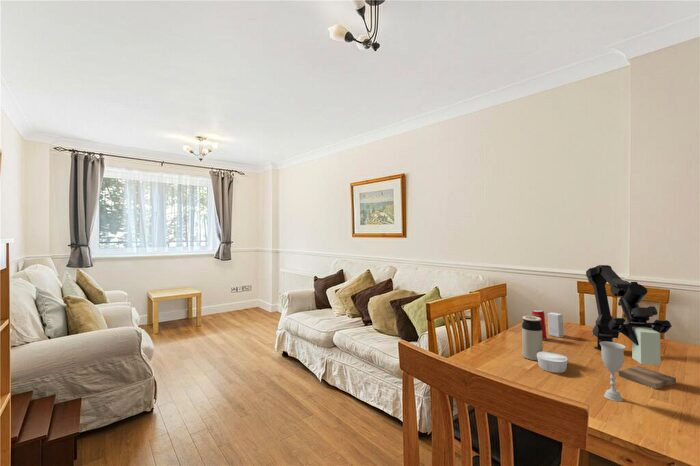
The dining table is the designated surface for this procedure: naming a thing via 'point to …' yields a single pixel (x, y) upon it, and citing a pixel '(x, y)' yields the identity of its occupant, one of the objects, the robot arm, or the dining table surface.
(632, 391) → the dining table surface
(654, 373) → the walnut board
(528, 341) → the travel mug
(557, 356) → the ramekin
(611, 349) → the chalice
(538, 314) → the beverage can
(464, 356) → the dining table surface
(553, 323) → the skincare box
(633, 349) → the sage block
